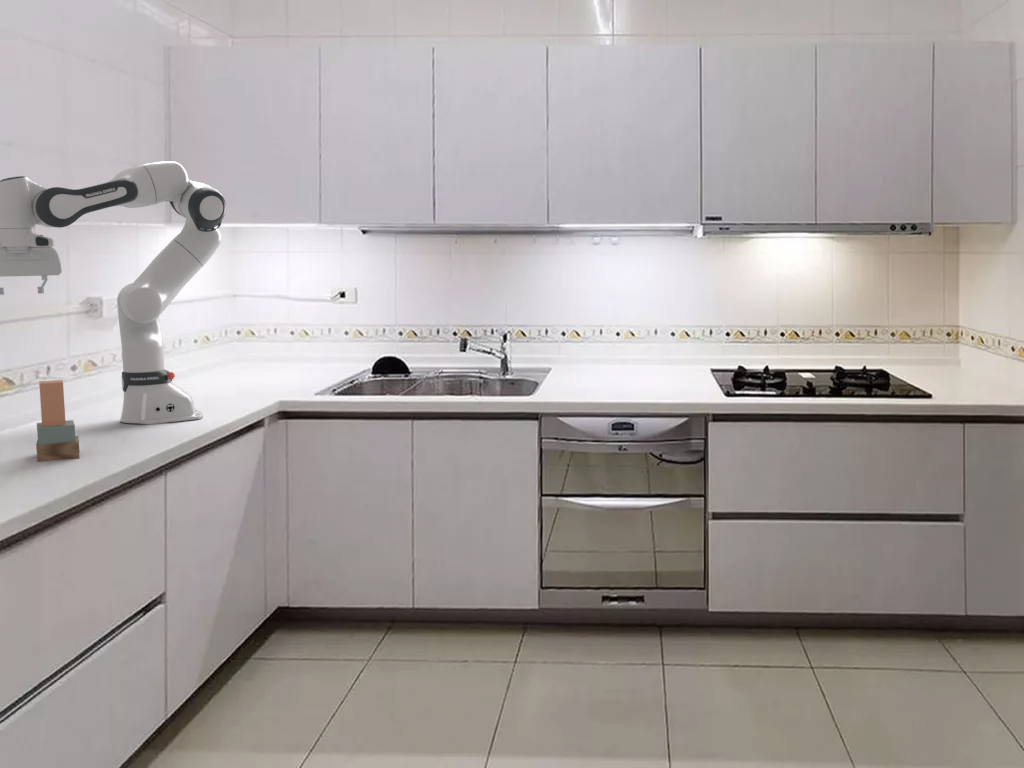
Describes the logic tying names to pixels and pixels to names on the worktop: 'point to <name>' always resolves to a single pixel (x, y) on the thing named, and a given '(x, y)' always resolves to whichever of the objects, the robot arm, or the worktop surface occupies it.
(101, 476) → the worktop surface
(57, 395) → the pillar
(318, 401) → the worktop surface
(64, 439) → the tower top
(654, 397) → the worktop surface
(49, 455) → the tower base
